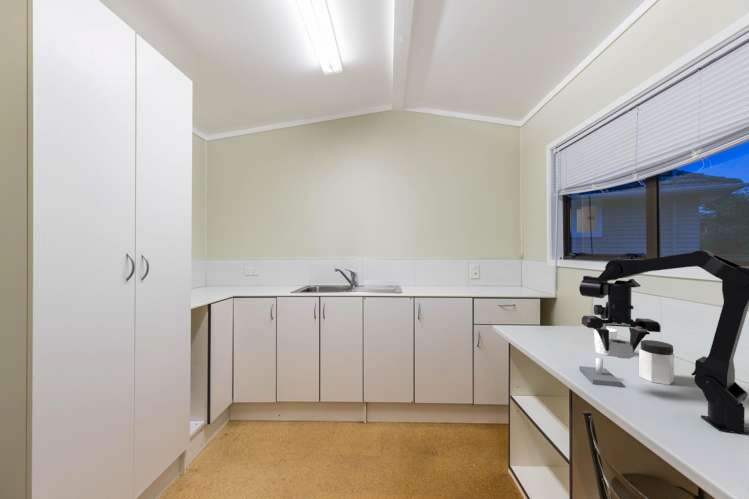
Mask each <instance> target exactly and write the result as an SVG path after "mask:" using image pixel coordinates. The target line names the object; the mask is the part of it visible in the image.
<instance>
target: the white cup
mask: <svg viewBox="0 0 749 499" xmlns="http://www.w3.org/2000/svg"><path fill="white" fill-rule="evenodd" d="M606 329H607V330H609V339H618V330H617V329H615V328H611V327H606ZM593 339H594V340H593V341H594V352H595V353H596V354H599V355H602V356H609V357H610V355H608V354H607V353H605V348H604V346H603V343H602V340H601V338H600V335H599V334H598V332H597V330H595V329H593Z"/></svg>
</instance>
